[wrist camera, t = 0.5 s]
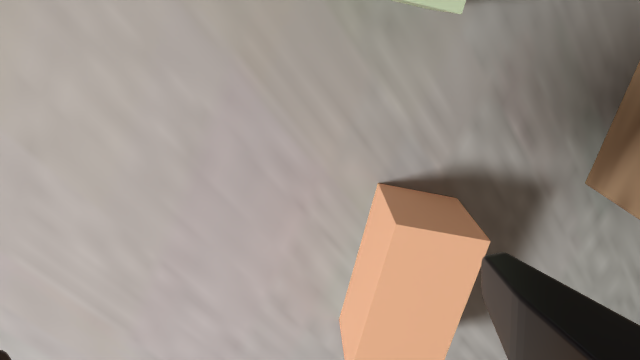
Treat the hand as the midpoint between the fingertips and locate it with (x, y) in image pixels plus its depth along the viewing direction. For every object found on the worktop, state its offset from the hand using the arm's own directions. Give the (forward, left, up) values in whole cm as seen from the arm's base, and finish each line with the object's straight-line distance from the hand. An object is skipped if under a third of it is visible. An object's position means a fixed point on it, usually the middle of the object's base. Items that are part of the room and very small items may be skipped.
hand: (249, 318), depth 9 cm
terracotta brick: (-6, -7, -14) cm, 17 cm away
